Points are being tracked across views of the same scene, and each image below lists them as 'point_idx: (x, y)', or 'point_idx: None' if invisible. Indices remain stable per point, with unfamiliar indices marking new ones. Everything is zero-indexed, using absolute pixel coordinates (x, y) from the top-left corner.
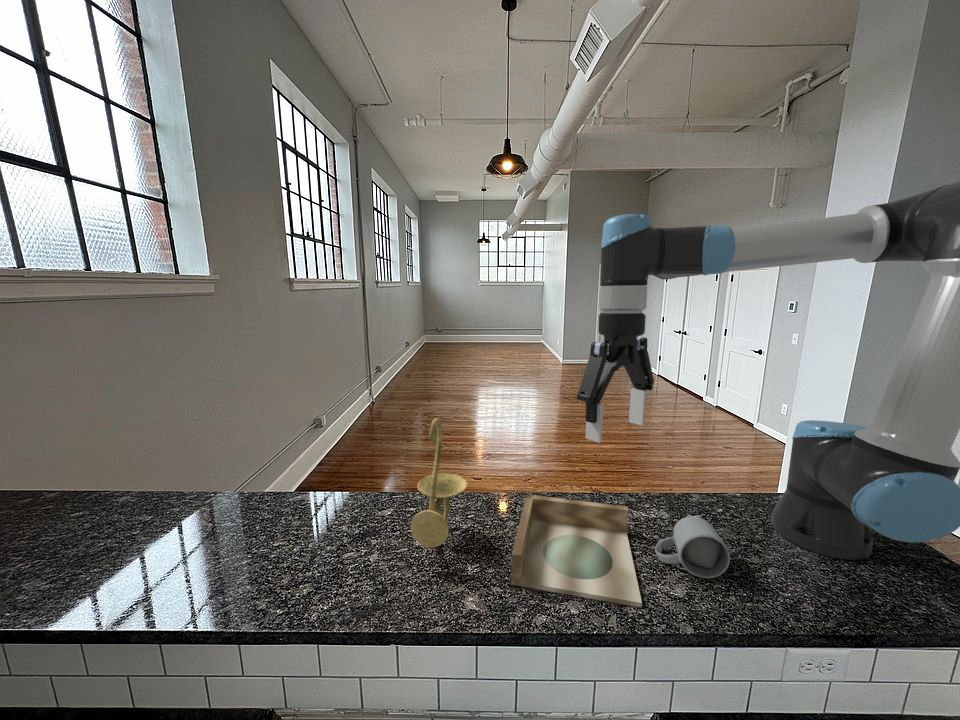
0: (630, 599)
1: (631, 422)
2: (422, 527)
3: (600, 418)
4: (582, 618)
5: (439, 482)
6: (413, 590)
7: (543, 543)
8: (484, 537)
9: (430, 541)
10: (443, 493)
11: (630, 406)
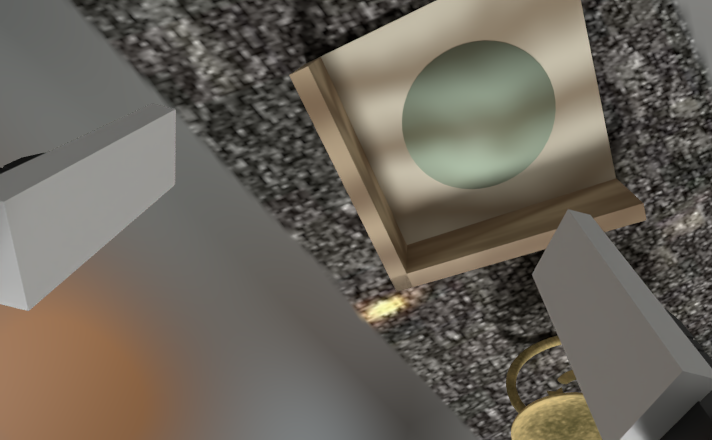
0: None
1: (174, 171)
2: None
3: (654, 297)
4: (650, 38)
5: (547, 438)
6: (696, 303)
7: (474, 193)
8: (503, 287)
9: None
10: (589, 414)
11: (122, 225)
